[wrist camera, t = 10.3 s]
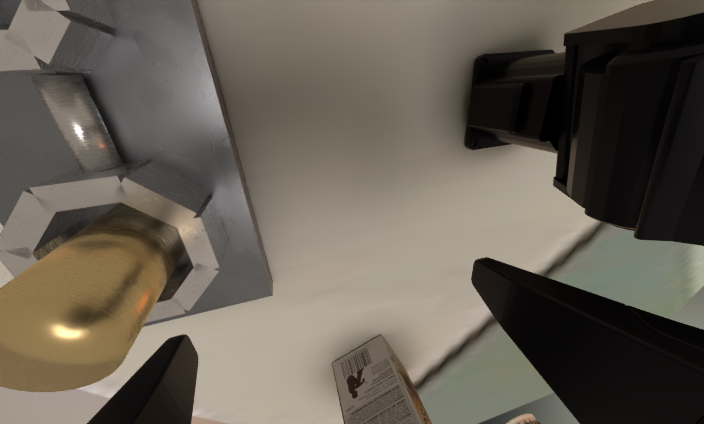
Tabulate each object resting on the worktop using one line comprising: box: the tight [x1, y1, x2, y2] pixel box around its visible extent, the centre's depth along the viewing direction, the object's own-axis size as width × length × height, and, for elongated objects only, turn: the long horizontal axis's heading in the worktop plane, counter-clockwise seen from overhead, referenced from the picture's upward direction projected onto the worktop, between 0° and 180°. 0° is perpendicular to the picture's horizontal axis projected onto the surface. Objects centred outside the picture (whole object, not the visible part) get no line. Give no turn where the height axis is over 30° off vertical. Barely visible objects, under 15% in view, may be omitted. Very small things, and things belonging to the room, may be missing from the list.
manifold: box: [0, 0, 273, 327], centre depth 13 cm, size 12×24×4 cm, turn 4°
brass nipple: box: [0, 203, 186, 392], centre depth 12 cm, size 4×4×8 cm
